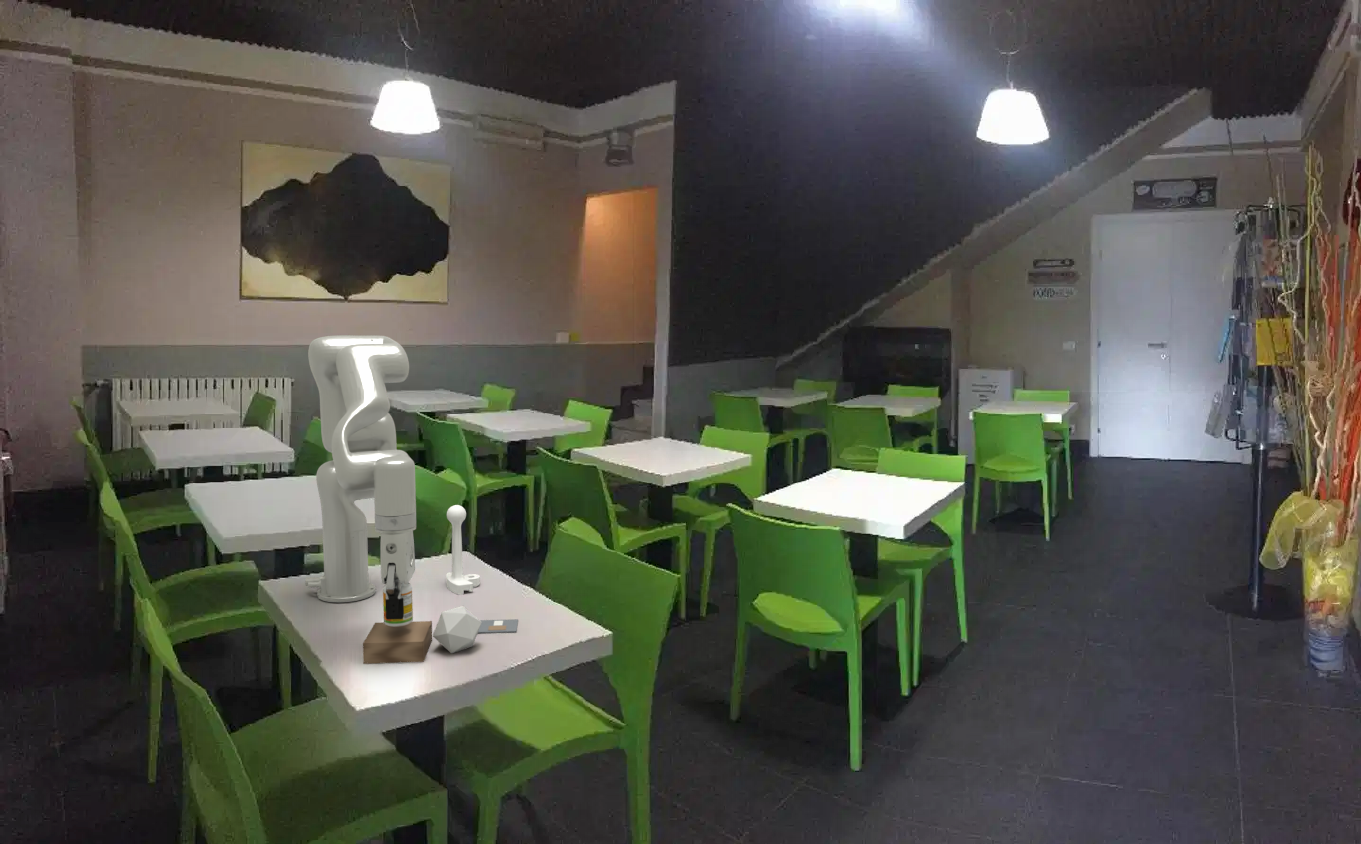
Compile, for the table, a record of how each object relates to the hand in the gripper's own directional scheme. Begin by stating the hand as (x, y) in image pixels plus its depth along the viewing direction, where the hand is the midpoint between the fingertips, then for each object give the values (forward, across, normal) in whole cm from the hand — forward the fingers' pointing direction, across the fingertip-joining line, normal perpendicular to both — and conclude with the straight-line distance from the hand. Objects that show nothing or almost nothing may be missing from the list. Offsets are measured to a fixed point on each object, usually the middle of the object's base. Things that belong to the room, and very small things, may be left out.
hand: (397, 612), depth 174 cm
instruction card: (+8, +12, -18) cm, 23 cm away
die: (+8, +1, -11) cm, 14 cm away
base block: (+8, 0, 0) cm, 8 cm away
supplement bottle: (+2, 0, 0) cm, 2 cm away
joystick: (+8, +40, -8) cm, 42 cm away
